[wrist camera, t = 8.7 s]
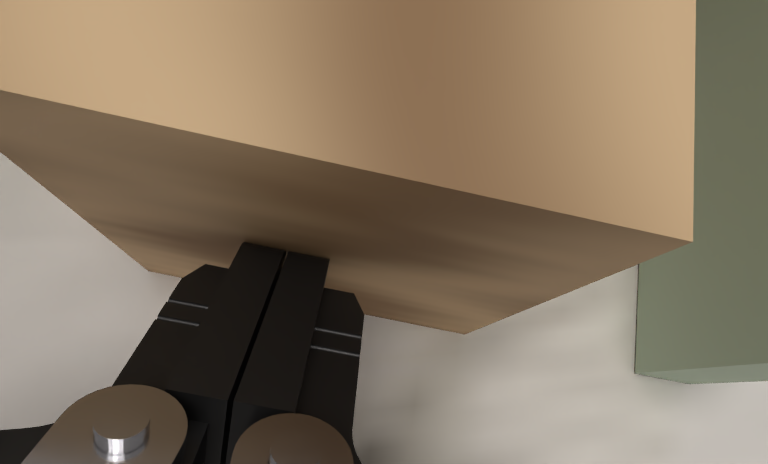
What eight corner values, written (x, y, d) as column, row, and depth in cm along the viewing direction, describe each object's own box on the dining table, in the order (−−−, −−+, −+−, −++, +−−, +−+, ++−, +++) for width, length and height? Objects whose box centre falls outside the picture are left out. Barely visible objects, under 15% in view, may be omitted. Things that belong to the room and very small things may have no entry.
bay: (-155, 218, 13) (-415, 116, 8) (40, -176, 17) (-63, -399, 12) (689, 383, 15) (871, 377, 10) (693, -12, 19) (826, -153, 14)
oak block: (148, 271, 14) (-105, 66, 5) (250, -50, 17) (191, -511, 8) (463, 334, 14) (693, 241, 6) (507, 13, 17) (700, -358, 9)
